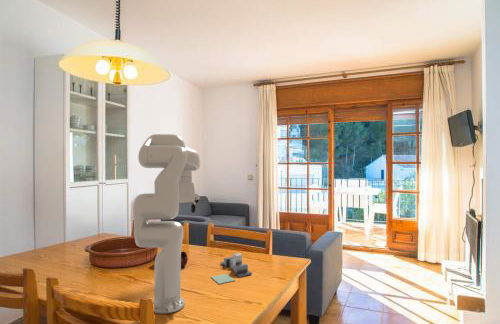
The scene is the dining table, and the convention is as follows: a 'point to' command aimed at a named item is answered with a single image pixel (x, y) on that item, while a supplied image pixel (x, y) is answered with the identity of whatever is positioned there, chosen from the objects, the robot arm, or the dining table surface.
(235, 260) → the hook
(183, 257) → the ashtray
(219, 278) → the mat
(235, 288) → the dining table surface
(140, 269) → the dining table surface
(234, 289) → the dining table surface
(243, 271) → the vise
